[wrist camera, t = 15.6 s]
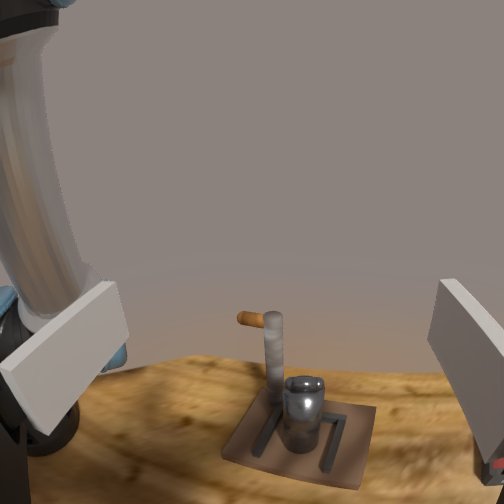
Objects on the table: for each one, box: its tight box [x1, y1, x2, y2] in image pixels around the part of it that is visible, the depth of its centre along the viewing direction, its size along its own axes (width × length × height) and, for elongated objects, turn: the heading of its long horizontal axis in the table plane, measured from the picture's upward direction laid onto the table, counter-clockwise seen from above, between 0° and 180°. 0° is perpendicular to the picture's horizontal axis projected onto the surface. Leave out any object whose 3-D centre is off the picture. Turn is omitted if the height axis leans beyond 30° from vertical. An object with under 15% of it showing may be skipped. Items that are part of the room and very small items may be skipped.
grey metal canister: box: [283, 376, 325, 454], centre depth 33 cm, size 5×5×12 cm
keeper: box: [221, 311, 376, 490], centre depth 34 cm, size 20×14×16 cm
